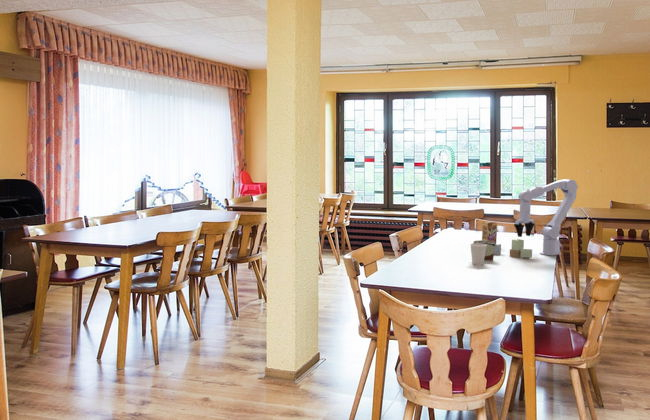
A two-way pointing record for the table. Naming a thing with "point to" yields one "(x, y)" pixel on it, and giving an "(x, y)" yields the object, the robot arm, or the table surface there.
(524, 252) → the pale green block
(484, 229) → the candy box
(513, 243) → the sage block
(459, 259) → the table surface
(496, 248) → the slate block
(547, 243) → the robot arm
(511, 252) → the walnut plinth
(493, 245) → the food container
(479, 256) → the dixie cup
